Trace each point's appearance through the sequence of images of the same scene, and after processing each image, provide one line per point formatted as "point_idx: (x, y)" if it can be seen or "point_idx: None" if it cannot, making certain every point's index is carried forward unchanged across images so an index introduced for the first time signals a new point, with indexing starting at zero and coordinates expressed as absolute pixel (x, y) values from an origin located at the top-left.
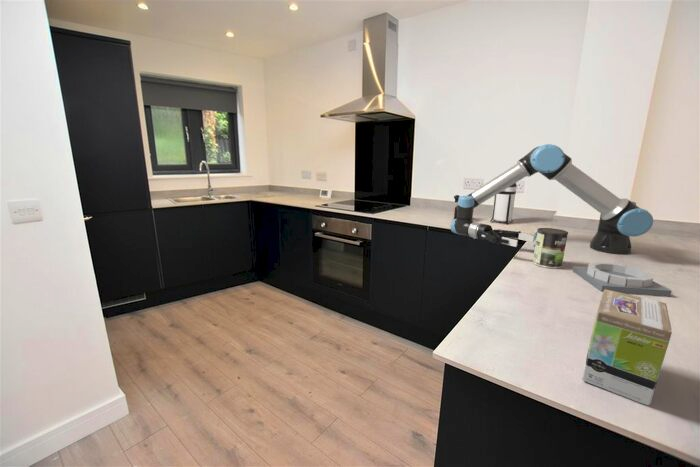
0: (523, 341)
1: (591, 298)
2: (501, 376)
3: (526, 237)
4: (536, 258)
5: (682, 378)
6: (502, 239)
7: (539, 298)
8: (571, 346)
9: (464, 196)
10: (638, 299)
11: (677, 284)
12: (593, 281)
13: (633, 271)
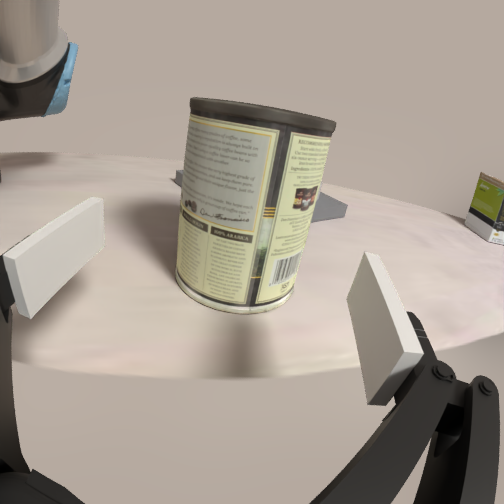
0: None
1: (392, 228)
2: None
3: (71, 246)
4: (292, 274)
5: (452, 216)
6: (430, 348)
7: (476, 270)
8: (500, 250)
9: None
10: (496, 178)
11: (183, 165)
12: (327, 210)
13: None
